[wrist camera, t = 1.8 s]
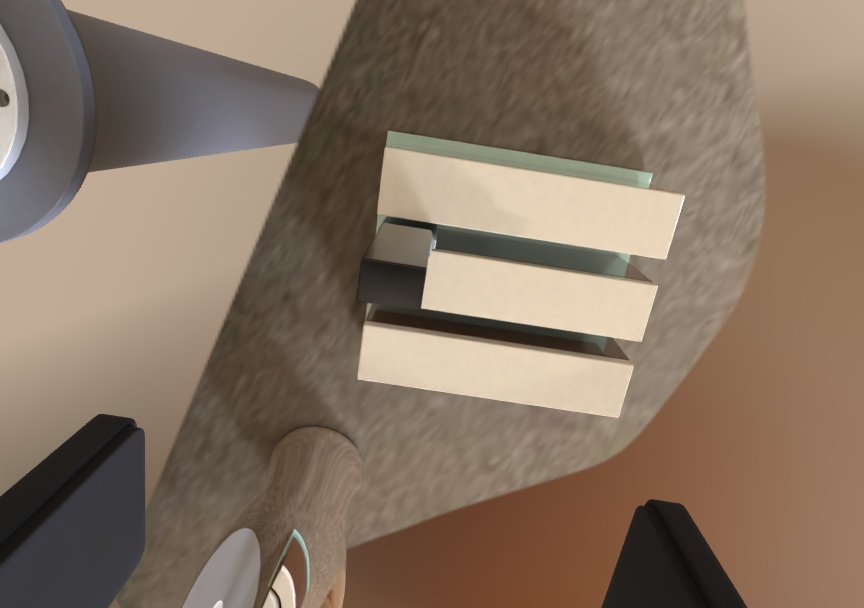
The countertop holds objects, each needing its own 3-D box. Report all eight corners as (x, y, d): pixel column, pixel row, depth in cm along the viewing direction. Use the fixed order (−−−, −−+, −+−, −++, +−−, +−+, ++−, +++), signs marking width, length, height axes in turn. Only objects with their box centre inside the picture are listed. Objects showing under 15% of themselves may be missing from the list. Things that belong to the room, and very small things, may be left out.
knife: (390, 222, 29) (347, 300, 17) (393, 196, 29) (352, 256, 16) (436, 229, 30) (428, 312, 17) (440, 203, 29) (435, 269, 16)
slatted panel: (364, 337, 33) (345, 387, 26) (389, 130, 29) (374, 132, 23) (593, 372, 33) (626, 428, 27) (647, 171, 29) (701, 184, 23)
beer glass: (293, 401, 34) (184, 602, 20) (390, 451, 35) (352, 676, 21) (247, 480, 36) (118, 715, 22) (340, 525, 37) (274, 778, 23)
